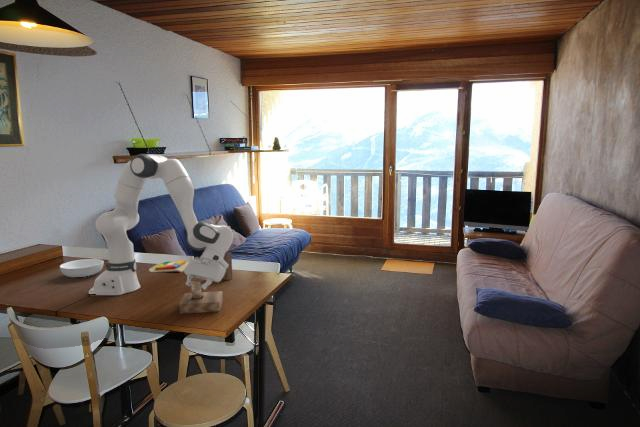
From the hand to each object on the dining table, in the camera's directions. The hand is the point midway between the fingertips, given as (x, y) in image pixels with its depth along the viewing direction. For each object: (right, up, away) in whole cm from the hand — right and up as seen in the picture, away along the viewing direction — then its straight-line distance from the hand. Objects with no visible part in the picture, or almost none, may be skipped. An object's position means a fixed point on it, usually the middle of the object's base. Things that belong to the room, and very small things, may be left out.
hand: (195, 287), depth 185 cm
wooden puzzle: (-32, -1, +64) cm, 71 cm away
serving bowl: (-75, -3, +52) cm, 92 cm away
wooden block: (+2, -3, +43) cm, 43 cm away
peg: (+1, -9, +2) cm, 9 cm away
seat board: (+2, -9, +2) cm, 9 cm away
